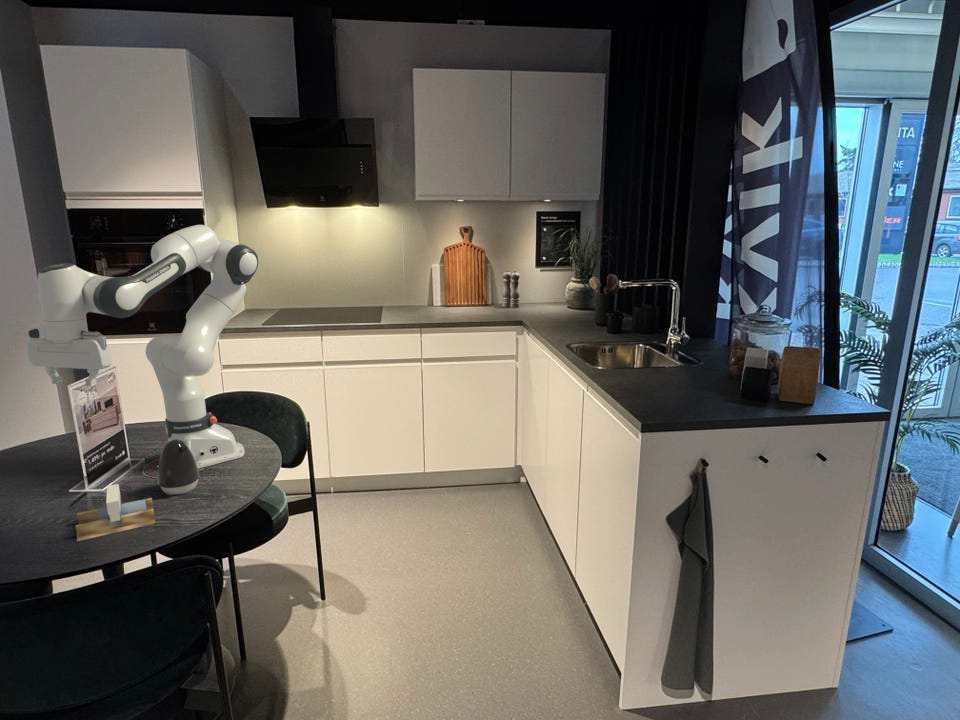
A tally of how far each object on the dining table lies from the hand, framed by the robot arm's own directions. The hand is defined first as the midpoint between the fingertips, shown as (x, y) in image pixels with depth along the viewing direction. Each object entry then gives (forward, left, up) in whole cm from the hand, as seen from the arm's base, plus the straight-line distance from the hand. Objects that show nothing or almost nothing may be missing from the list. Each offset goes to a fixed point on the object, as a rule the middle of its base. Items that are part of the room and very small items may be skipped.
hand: (74, 384), depth 148 cm
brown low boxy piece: (-1, +16, -33) cm, 37 cm away
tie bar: (-5, +16, -27) cm, 32 cm away
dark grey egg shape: (-20, +4, -33) cm, 39 cm away
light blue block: (-7, +16, -32) cm, 36 cm away
